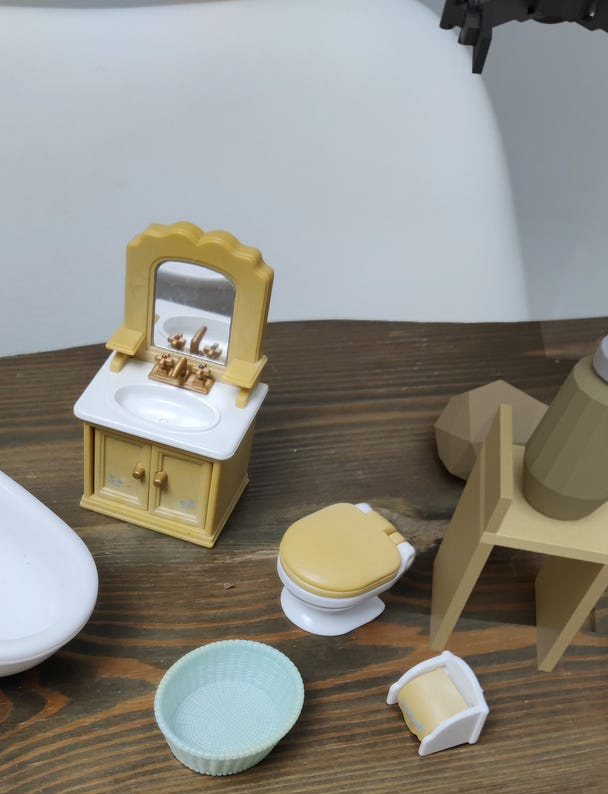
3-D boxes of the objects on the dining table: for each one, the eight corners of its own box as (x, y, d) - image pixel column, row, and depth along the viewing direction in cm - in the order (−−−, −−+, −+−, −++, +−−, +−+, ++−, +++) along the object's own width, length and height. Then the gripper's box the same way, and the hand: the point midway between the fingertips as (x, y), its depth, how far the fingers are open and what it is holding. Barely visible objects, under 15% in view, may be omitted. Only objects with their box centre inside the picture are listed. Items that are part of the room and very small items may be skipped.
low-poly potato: (397, 475, 104) (475, 502, 95) (416, 370, 100) (500, 387, 91) (500, 473, 111) (583, 498, 101) (522, 375, 107) (611, 391, 97)
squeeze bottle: (512, 526, 78) (606, 336, 64) (503, 456, 83) (589, 264, 68) (616, 538, 78) (734, 349, 63) (601, 467, 82) (708, 276, 68)
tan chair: (547, 582, 96) (637, 425, 80) (550, 672, 89) (650, 521, 73) (433, 561, 97) (500, 403, 81) (429, 649, 90) (500, 496, 74)
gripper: (680, 24, 91) (709, 135, 79) (411, -7, 94) (398, 95, 82) (722, -70, 85) (760, 34, 73) (433, -101, 88) (422, -6, 76)
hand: (569, 67), depth 77 cm, fingers open, 13 cm apart
